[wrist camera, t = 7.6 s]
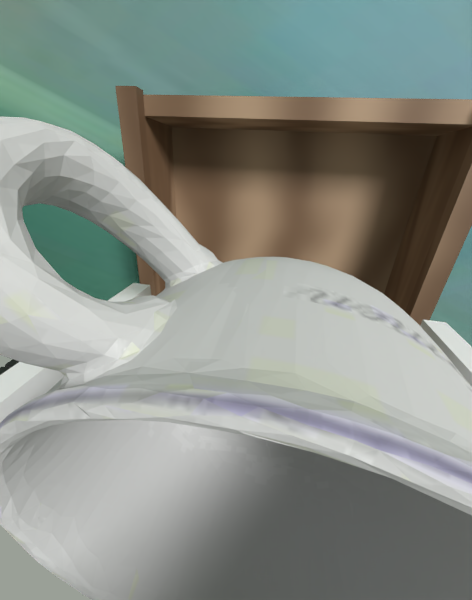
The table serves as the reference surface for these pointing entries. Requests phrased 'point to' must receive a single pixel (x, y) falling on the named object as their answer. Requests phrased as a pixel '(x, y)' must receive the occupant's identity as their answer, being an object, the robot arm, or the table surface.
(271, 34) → the table surface
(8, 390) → the robot arm
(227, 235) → the crate
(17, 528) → the teacup
